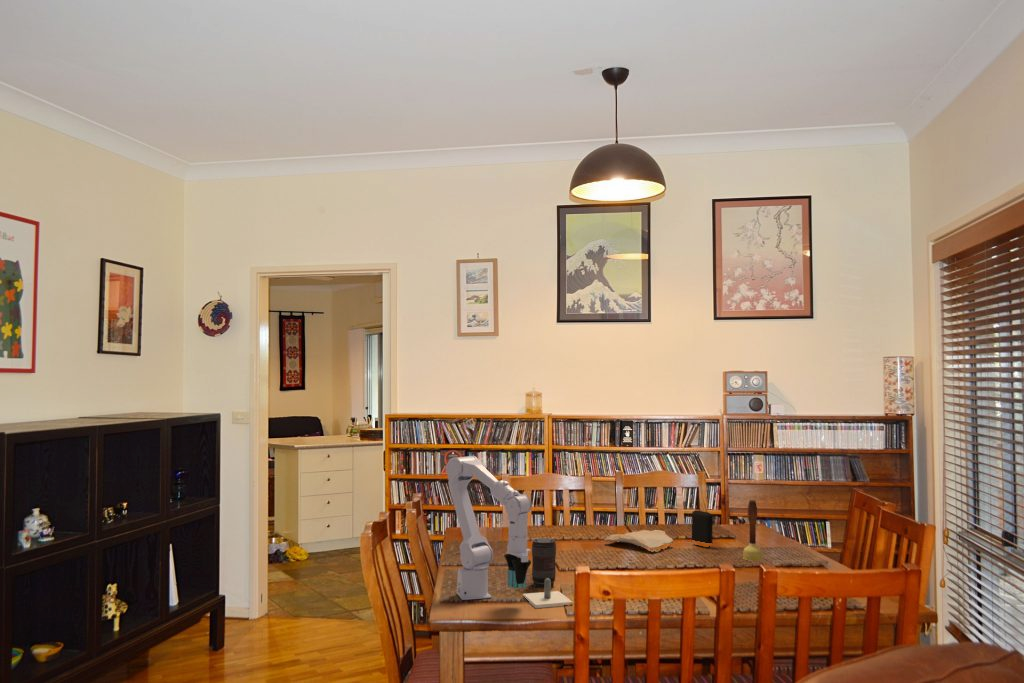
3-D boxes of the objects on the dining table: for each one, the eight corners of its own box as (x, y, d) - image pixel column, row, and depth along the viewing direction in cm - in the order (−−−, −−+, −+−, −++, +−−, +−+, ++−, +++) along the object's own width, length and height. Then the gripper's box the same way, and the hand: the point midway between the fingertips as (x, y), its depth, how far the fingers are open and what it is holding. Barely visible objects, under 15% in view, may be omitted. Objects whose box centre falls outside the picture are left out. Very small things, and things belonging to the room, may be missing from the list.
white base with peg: (535, 608, 224) (535, 584, 224) (522, 596, 235) (523, 574, 236) (572, 605, 228) (572, 581, 228) (558, 594, 239) (558, 572, 239)
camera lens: (554, 582, 253) (555, 537, 254) (556, 588, 245) (557, 542, 246) (530, 582, 253) (531, 537, 254) (532, 588, 245) (532, 542, 246)
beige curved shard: (628, 540, 327) (601, 543, 312) (630, 523, 327) (603, 525, 313) (677, 552, 310) (650, 555, 295) (678, 534, 310) (652, 536, 296)
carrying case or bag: (715, 548, 308) (716, 512, 309) (711, 549, 306) (711, 513, 307) (694, 544, 316) (694, 509, 317) (690, 545, 314) (690, 510, 315)
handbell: (728, 565, 280) (728, 498, 282) (755, 563, 285) (755, 497, 286) (749, 573, 269) (749, 503, 270) (777, 571, 273) (777, 502, 274)
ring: (510, 588, 222) (511, 571, 222) (505, 583, 227) (505, 567, 228) (528, 587, 224) (528, 570, 224) (522, 582, 229) (523, 566, 229)
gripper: (538, 539, 221) (537, 586, 220) (522, 530, 234) (521, 573, 234) (515, 541, 219) (514, 587, 218) (501, 531, 232) (500, 575, 232)
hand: (517, 580), depth 226 cm, fingers closed on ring, 6 cm apart
